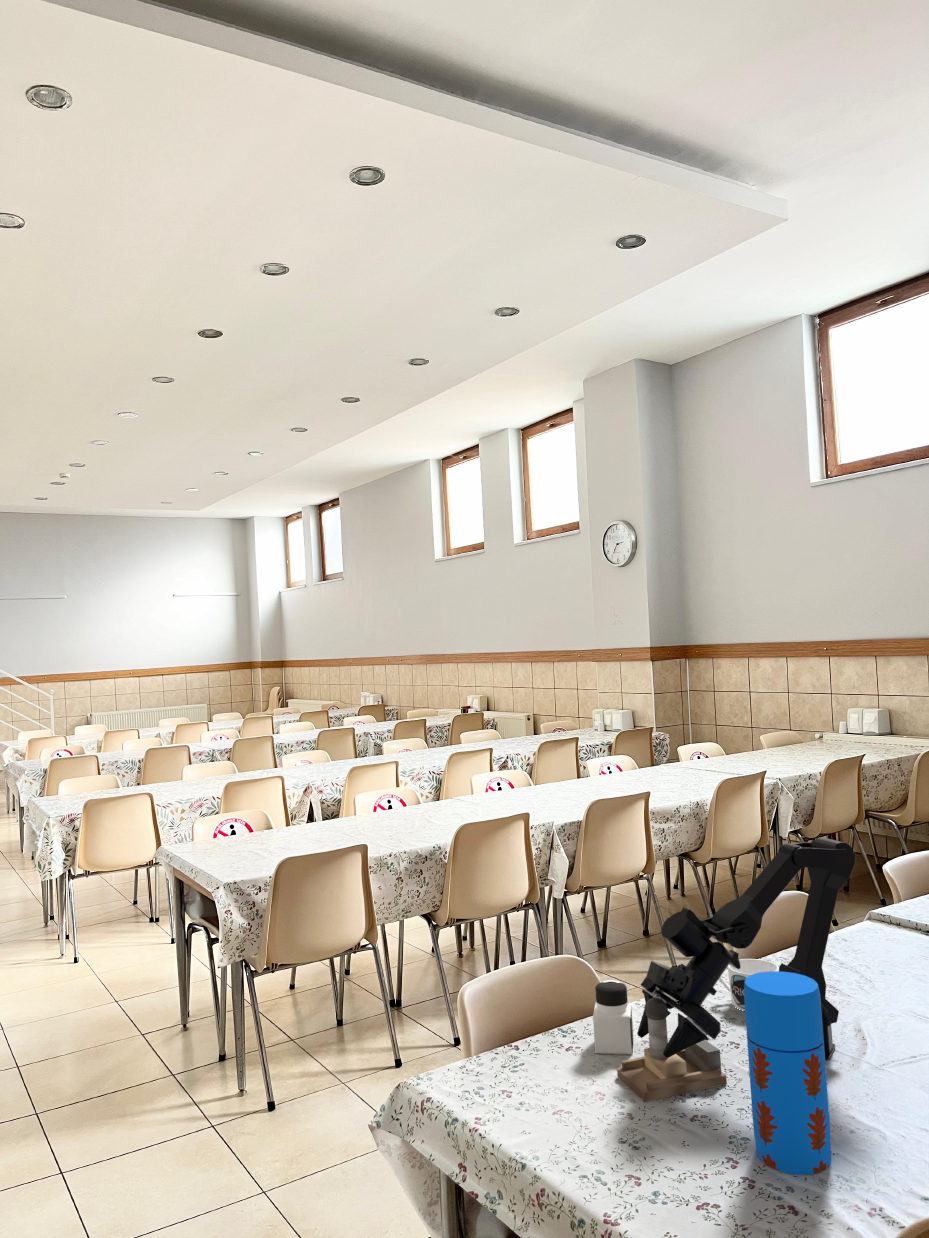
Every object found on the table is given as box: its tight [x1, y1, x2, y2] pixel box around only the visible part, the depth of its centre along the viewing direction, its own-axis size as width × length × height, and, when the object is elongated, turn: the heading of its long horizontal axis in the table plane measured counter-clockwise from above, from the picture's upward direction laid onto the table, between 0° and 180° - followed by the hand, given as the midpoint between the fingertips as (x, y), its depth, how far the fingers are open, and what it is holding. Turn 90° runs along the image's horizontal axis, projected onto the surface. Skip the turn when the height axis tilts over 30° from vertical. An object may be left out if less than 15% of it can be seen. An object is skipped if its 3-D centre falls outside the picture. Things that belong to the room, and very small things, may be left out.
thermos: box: [744, 971, 832, 1176], centre depth 134 cm, size 11×11×25 cm
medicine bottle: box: [592, 979, 634, 1055], centre depth 175 cm, size 7×7×12 cm
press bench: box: [616, 1040, 728, 1103], centre depth 159 cm, size 16×10×6 cm, turn 107°
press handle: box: [643, 998, 687, 1079], centre depth 159 cm, size 5×8×13 cm, turn 17°
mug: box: [718, 958, 780, 1012], centre depth 193 cm, size 13×10×8 cm
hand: (651, 1045), depth 159 cm, fingers open, 9 cm apart
